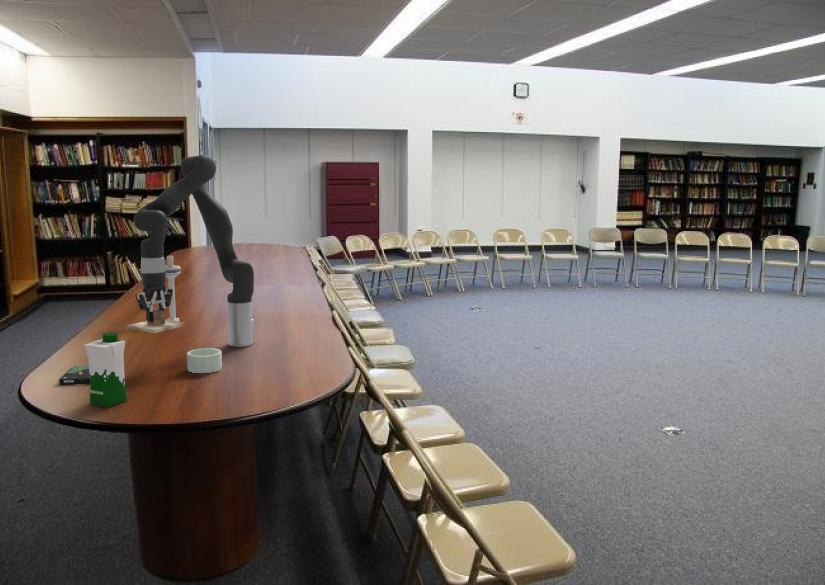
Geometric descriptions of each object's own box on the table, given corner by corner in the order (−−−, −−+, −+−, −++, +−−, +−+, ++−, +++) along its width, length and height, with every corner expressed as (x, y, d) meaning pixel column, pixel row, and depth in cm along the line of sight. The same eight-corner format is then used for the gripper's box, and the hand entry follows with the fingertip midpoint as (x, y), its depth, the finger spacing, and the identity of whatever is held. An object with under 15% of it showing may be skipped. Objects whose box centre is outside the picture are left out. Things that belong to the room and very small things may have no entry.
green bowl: (205, 363, 236) (204, 346, 235) (228, 367, 230) (227, 351, 229) (180, 370, 226) (180, 353, 225) (204, 375, 221) (203, 358, 220)
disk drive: (94, 386, 210) (106, 372, 225) (94, 377, 210) (105, 364, 224) (59, 387, 208) (72, 373, 223) (58, 379, 208) (72, 365, 222)
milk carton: (131, 399, 196) (128, 333, 193) (108, 409, 188) (103, 340, 185) (108, 395, 199) (104, 330, 196) (84, 405, 191) (79, 337, 188)
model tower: (185, 320, 303) (183, 255, 298) (177, 324, 295) (174, 257, 289) (168, 320, 303) (165, 254, 298) (159, 323, 295) (156, 256, 290)
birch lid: (158, 321, 233) (158, 305, 232) (185, 325, 227) (184, 309, 226) (127, 328, 222) (126, 311, 221) (153, 333, 216) (152, 316, 215)
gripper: (163, 267, 229) (165, 316, 232) (127, 272, 217) (130, 323, 220) (178, 269, 225) (180, 318, 228) (143, 274, 213) (146, 326, 216)
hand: (156, 320), depth 224 cm, fingers closed on birch lid, 4 cm apart
